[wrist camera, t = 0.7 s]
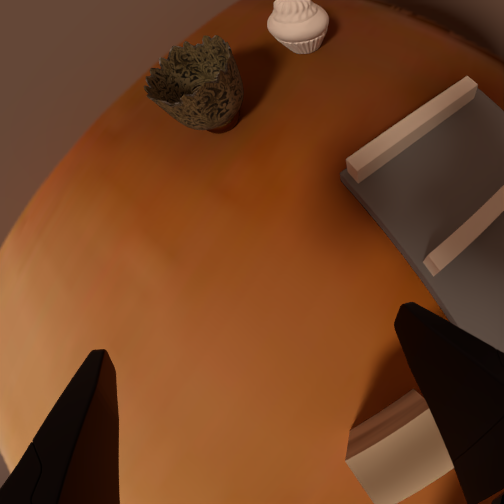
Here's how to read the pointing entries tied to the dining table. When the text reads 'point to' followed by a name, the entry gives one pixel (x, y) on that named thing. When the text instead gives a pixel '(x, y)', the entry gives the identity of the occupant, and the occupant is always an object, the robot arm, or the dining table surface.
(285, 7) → the muffin
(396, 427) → the block
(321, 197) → the dining table surface
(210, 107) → the cup
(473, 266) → the board
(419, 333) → the robot arm
